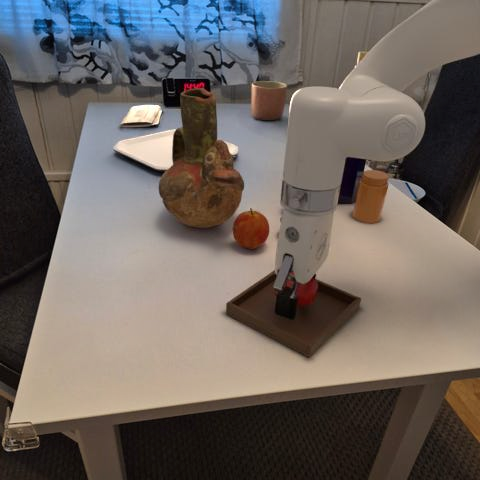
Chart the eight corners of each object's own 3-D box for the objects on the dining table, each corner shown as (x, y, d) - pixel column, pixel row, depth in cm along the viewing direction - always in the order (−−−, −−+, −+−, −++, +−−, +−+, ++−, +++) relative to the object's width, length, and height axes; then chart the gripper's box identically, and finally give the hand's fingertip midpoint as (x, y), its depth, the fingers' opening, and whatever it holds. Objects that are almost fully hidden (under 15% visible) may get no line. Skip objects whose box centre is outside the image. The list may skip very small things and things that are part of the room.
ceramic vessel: (192, 262, 81) (187, 115, 65) (143, 207, 98) (130, 81, 83) (271, 242, 88) (284, 105, 72) (212, 194, 105) (212, 76, 90)
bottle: (360, 192, 110) (390, 51, 91) (356, 206, 103) (388, 57, 84) (323, 186, 112) (345, 47, 93) (317, 200, 105) (339, 53, 86)
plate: (184, 133, 143) (184, 126, 141) (248, 157, 127) (249, 149, 126) (104, 152, 126) (103, 144, 125) (167, 181, 111) (167, 173, 109)
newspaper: (158, 128, 146) (156, 120, 145) (121, 131, 147) (119, 123, 145) (166, 110, 164) (164, 103, 162) (133, 113, 164) (131, 105, 163)
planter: (267, 124, 155) (269, 89, 148) (243, 116, 162) (244, 83, 155) (291, 118, 162) (294, 85, 155) (267, 111, 169) (269, 79, 162)
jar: (384, 216, 99) (395, 174, 93) (372, 225, 95) (383, 182, 89) (360, 208, 102) (369, 167, 96) (347, 217, 98) (356, 174, 92)
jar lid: (293, 277, 72) (295, 267, 71) (325, 295, 68) (327, 285, 67) (265, 292, 68) (266, 282, 67) (297, 311, 65) (298, 301, 63)
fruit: (253, 234, 90) (255, 196, 85) (275, 248, 86) (278, 210, 81) (225, 243, 87) (225, 205, 82) (246, 258, 82) (248, 219, 78)
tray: (359, 308, 71) (361, 298, 70) (309, 357, 62) (311, 346, 61) (281, 274, 79) (282, 264, 77) (225, 314, 69) (226, 303, 68)
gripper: (312, 226, 51) (294, 343, 62) (357, 179, 63) (335, 284, 74) (254, 210, 54) (247, 326, 65) (307, 168, 66) (294, 272, 77)
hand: (294, 303), depth 69 cm, fingers closed on jar lid, 6 cm apart
